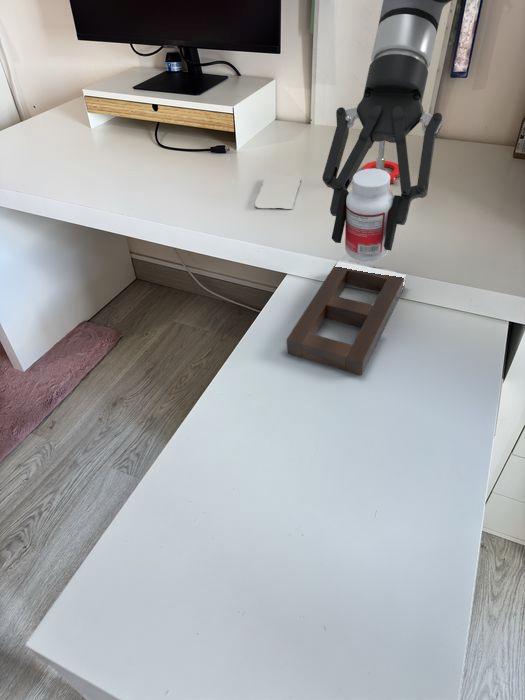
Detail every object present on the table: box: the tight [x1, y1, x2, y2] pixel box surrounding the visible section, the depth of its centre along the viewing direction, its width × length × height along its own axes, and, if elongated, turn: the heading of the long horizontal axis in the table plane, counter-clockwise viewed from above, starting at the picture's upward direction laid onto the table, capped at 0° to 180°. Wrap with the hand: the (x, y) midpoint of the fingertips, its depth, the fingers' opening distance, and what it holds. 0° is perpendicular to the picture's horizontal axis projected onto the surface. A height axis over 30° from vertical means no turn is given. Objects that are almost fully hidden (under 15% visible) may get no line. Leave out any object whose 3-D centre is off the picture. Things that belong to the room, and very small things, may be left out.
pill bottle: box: [344, 168, 394, 263], centre depth 67 cm, size 6×6×11 cm
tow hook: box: [362, 141, 400, 184], centre depth 108 cm, size 8×13×9 cm
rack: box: [286, 265, 406, 376], centre depth 80 cm, size 12×21×3 cm, turn 152°
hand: (361, 244), depth 67 cm, fingers closed on pill bottle, 6 cm apart
